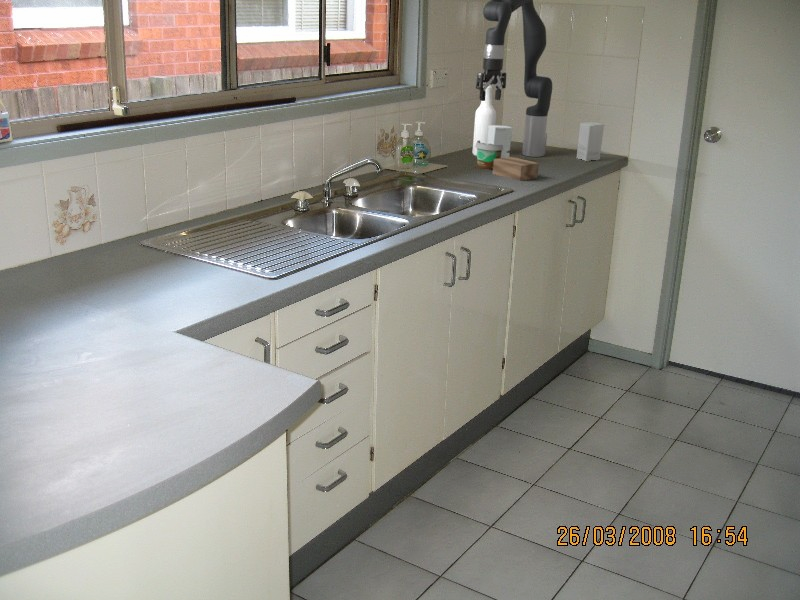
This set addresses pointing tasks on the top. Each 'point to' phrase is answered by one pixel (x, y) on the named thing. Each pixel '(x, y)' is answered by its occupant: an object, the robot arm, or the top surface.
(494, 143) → the skincare box
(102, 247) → the top surface
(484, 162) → the food container
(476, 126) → the alcohol
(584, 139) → the skincare box
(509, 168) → the walnut block
